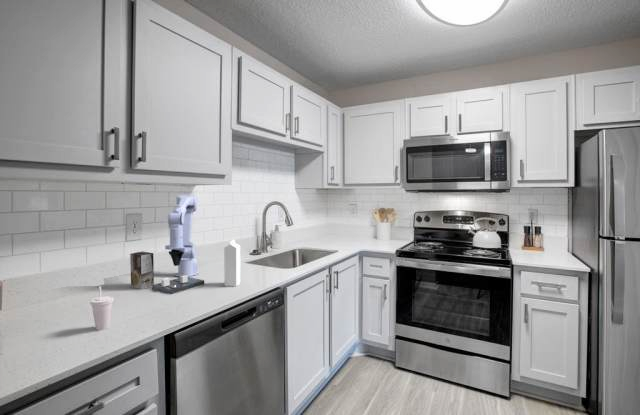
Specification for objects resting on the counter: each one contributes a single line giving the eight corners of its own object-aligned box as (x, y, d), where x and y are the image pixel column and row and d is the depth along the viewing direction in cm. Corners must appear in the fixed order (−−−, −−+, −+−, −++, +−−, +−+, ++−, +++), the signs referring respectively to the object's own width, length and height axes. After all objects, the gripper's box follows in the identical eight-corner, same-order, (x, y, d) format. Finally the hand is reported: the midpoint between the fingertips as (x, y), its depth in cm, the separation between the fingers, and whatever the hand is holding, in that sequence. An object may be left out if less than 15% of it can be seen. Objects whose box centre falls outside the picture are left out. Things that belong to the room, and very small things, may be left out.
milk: (224, 286, 156) (223, 241, 155) (229, 282, 162) (228, 239, 161) (236, 286, 155) (236, 241, 154) (240, 283, 161) (240, 239, 160)
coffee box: (154, 286, 154) (154, 252, 154) (141, 289, 149) (140, 255, 148) (143, 283, 159) (143, 251, 158) (130, 286, 153) (129, 253, 153)
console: (185, 280, 165) (185, 274, 165) (204, 284, 158) (204, 277, 158) (152, 289, 150) (152, 282, 150) (171, 294, 143) (171, 287, 143)
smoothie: (98, 323, 110) (97, 283, 110) (118, 323, 111) (117, 283, 110) (86, 332, 104) (85, 289, 103) (107, 331, 104) (106, 289, 104)
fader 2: (185, 281, 155) (185, 274, 155) (187, 281, 155) (187, 275, 154) (180, 282, 153) (179, 275, 153) (182, 283, 152) (182, 276, 152)
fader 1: (167, 284, 150) (167, 277, 149) (169, 285, 149) (169, 278, 149) (161, 286, 147) (161, 279, 147) (164, 286, 146) (164, 279, 146)
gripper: (159, 237, 156) (159, 265, 156) (178, 239, 148) (179, 269, 149) (172, 235, 162) (172, 262, 162) (191, 238, 154) (192, 266, 155)
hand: (176, 265), depth 156 cm, fingers closed
